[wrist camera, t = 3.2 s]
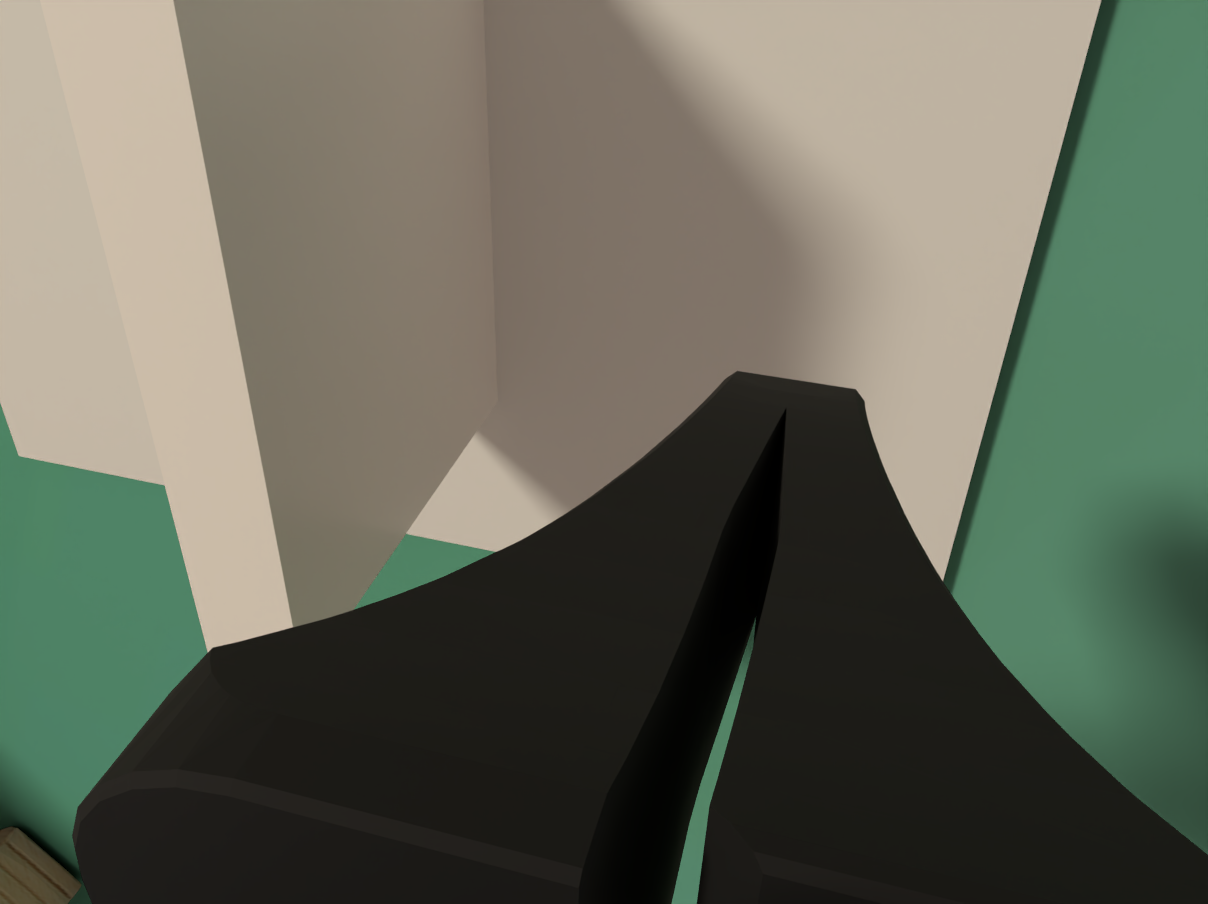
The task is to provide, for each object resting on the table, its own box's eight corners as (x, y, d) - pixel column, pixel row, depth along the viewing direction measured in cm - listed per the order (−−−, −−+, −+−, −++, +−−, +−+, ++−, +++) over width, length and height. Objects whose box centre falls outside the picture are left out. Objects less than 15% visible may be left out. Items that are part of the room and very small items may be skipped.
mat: (1245, -543, 12) (1251, -549, 12) (927, 628, 22) (927, 638, 22) (-300, -512, 16) (-319, -516, 16) (27, 449, 27) (19, 456, 26)
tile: (477, -171, 16) (151, -110, 9) (497, 401, 21) (303, 682, 15) (372, -177, 16) (-10, -121, 10) (419, 387, 22) (197, 657, 15)
